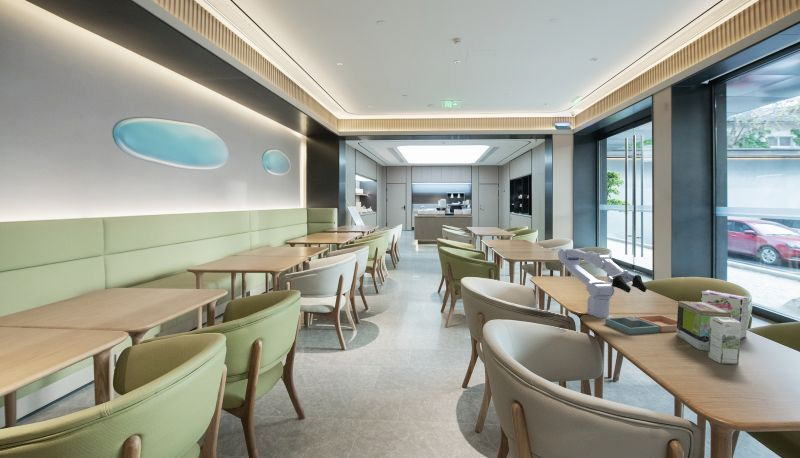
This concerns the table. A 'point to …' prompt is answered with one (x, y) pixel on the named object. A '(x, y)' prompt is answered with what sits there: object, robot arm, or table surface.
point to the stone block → (631, 322)
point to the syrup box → (724, 340)
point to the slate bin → (643, 328)
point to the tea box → (697, 322)
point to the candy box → (729, 306)
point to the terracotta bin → (660, 322)
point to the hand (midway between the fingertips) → (637, 290)
